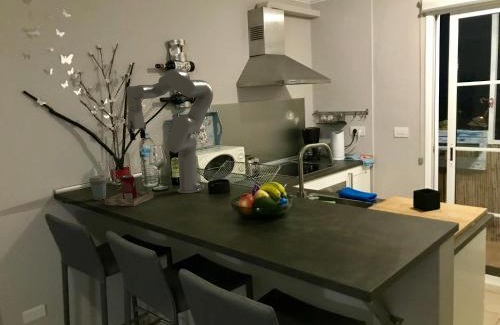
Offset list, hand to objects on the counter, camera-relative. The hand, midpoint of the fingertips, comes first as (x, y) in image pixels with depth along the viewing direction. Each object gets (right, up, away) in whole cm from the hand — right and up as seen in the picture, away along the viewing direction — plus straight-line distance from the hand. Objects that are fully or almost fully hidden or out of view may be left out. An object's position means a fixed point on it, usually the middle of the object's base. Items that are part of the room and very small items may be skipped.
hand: (138, 139), depth 235 cm
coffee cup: (-15, -33, -18) cm, 40 cm away
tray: (+3, -32, -26) cm, 42 cm away
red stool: (+3, -32, -26) cm, 41 cm away
